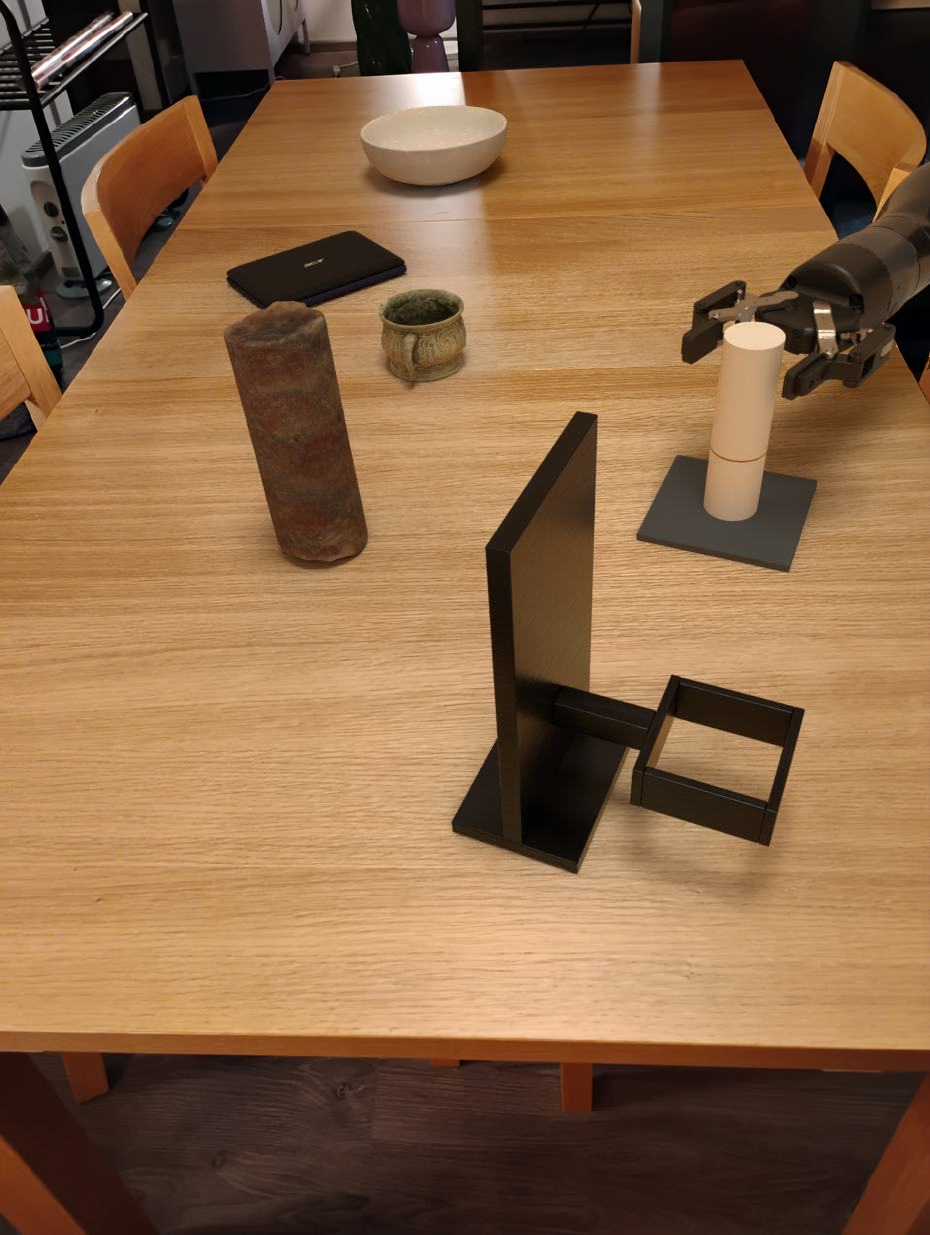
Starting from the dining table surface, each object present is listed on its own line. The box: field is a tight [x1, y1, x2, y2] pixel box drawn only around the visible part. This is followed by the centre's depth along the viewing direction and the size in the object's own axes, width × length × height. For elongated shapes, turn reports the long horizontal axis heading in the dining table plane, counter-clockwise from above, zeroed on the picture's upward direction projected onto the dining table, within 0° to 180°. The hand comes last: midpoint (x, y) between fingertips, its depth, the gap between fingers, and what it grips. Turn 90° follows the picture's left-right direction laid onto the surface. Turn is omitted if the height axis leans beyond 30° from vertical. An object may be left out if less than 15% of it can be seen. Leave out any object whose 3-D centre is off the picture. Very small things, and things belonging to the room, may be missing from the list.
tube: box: [704, 321, 786, 521], centre depth 76 cm, size 4×4×15 cm
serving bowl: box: [359, 104, 508, 187], centre depth 142 cm, size 21×21×7 cm
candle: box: [223, 301, 368, 562], centre depth 75 cm, size 8×7×20 cm
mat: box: [635, 454, 818, 573], centre depth 81 cm, size 12×12×1 cm
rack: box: [451, 410, 806, 874], centre depth 53 cm, size 18×12×23 cm
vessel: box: [378, 288, 467, 383], centre depth 101 cm, size 12×9×6 cm
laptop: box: [225, 230, 407, 310], centre depth 120 cm, size 16×20×2 cm
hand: (735, 369), depth 71 cm, fingers open, 8 cm apart
